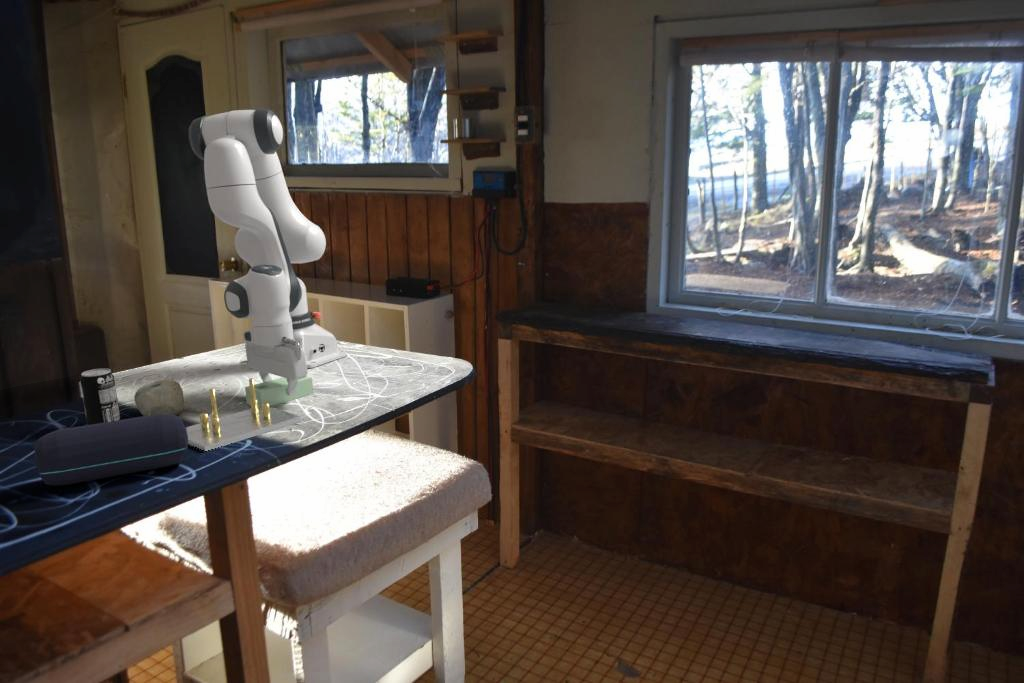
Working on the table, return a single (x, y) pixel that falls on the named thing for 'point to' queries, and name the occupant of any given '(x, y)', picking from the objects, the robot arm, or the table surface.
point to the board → (279, 391)
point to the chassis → (237, 423)
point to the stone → (160, 398)
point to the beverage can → (99, 396)
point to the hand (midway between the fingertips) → (279, 391)
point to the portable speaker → (110, 449)
